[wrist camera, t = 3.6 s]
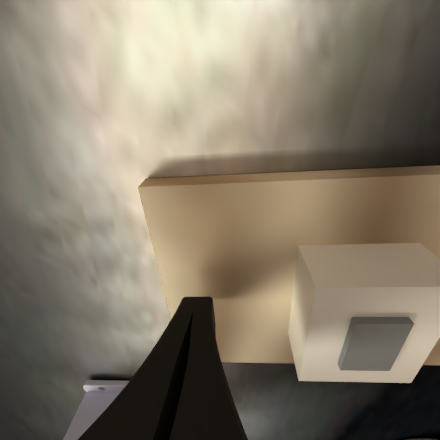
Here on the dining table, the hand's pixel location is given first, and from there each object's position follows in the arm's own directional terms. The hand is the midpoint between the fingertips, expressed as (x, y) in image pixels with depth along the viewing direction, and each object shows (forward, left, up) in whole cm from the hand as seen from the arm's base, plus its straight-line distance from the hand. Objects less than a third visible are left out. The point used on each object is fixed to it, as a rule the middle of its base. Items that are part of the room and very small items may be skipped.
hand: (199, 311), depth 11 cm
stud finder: (+7, 0, -1) cm, 7 cm away
